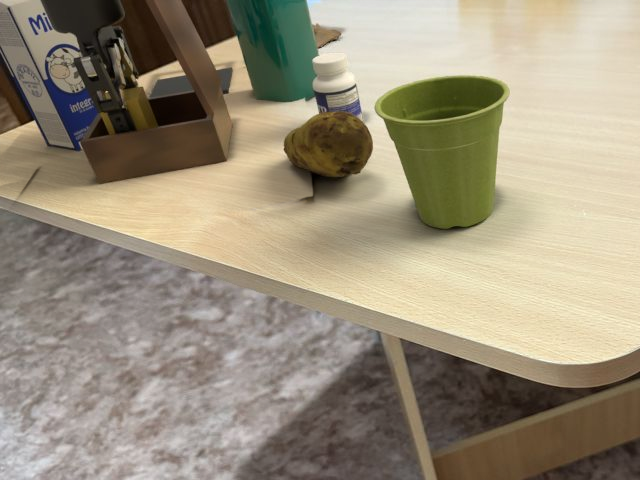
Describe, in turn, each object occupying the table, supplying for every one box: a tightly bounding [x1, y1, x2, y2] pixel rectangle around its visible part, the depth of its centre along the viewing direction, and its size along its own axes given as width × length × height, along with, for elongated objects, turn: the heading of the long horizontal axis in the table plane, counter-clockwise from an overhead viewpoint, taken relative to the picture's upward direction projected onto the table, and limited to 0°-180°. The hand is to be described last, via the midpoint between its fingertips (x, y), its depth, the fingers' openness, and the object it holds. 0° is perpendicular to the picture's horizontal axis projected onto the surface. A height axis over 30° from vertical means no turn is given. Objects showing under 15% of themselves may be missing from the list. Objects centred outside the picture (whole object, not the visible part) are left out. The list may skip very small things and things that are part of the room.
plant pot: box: [373, 74, 511, 230], centre depth 63 cm, size 12×12×11 cm
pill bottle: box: [312, 52, 366, 125], centre depth 84 cm, size 5×5×9 cm
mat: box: [148, 67, 234, 98], centre depth 108 cm, size 12×12×1 cm
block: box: [100, 86, 159, 135], centre depth 82 cm, size 4×4×8 cm
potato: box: [283, 111, 374, 178], centre depth 73 cm, size 8×13×8 cm, turn 24°
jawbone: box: [312, 23, 343, 49], centre depth 118 cm, size 9×20×2 cm, turn 161°
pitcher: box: [226, 0, 320, 103], centre depth 93 cm, size 10×8×22 cm
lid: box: [145, 0, 222, 116], centre depth 77 cm, size 15×13×5 cm
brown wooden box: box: [80, 87, 234, 185], centre depth 84 cm, size 15×13×6 cm
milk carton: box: [0, 0, 98, 152], centre depth 87 cm, size 7×7×20 cm
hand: (135, 131), depth 83 cm, fingers open, 6 cm apart
